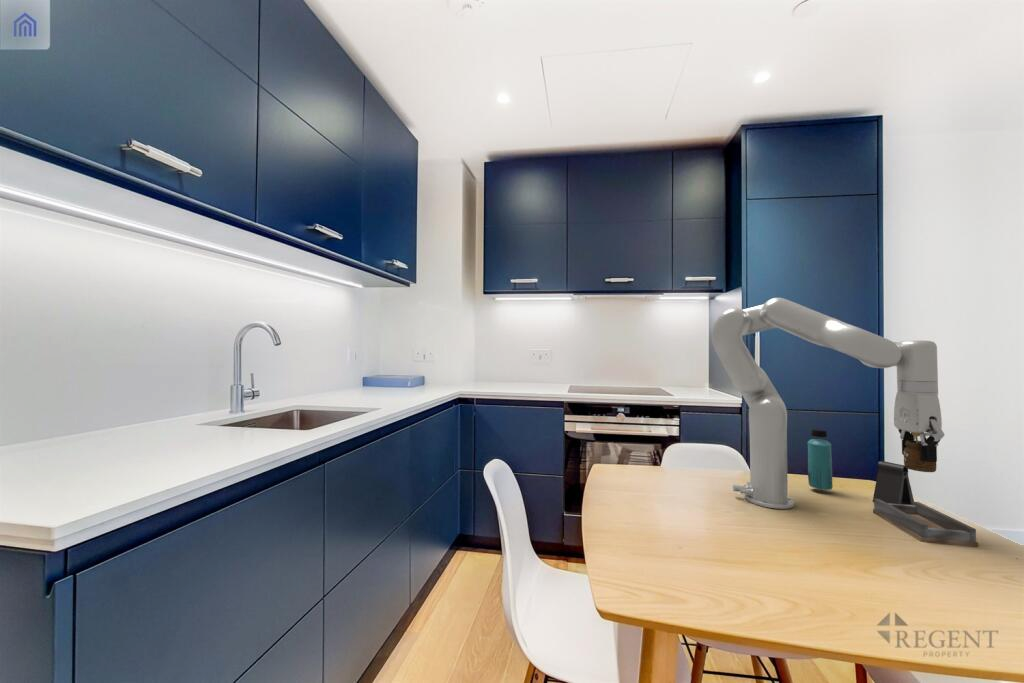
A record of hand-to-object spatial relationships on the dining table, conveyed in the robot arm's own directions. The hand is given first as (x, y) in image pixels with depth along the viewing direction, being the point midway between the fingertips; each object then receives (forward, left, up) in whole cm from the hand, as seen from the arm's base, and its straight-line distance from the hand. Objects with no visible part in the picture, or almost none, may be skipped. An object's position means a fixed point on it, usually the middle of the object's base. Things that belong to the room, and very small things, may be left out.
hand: (918, 457), depth 105 cm
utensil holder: (0, 0, -3) cm, 3 cm away
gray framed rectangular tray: (0, 0, -18) cm, 18 cm away
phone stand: (+5, +19, -18) cm, 27 cm away
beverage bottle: (-11, +26, -18) cm, 34 cm away
